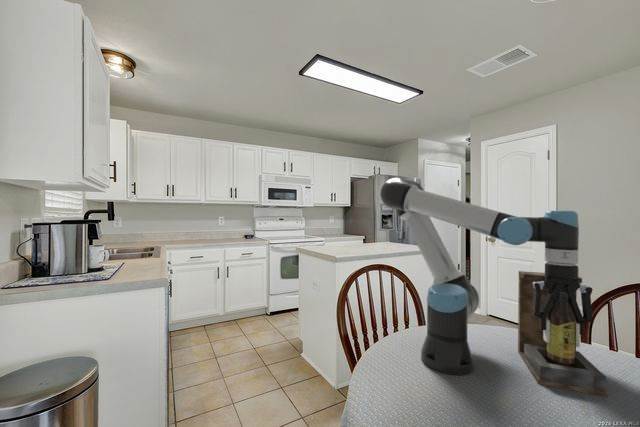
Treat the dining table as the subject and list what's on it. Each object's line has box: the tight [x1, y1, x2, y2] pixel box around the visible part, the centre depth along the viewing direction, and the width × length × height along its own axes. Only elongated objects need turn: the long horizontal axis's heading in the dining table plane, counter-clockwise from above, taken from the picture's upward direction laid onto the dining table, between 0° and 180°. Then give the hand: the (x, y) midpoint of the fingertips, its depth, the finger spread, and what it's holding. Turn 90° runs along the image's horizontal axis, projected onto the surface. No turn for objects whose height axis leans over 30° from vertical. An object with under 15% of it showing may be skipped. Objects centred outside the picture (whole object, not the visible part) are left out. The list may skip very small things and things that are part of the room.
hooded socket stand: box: [517, 270, 609, 398], centre depth 86 cm, size 15×20×28 cm
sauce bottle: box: [547, 292, 575, 364], centre depth 84 cm, size 7×6×20 cm
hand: (560, 342), depth 84 cm, fingers closed on sauce bottle, 6 cm apart
